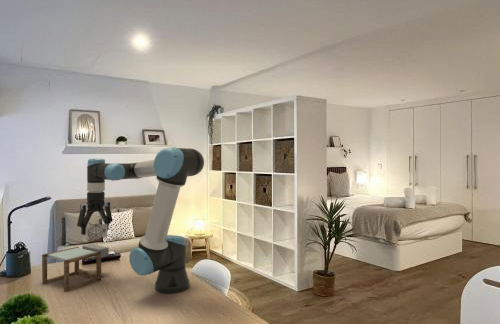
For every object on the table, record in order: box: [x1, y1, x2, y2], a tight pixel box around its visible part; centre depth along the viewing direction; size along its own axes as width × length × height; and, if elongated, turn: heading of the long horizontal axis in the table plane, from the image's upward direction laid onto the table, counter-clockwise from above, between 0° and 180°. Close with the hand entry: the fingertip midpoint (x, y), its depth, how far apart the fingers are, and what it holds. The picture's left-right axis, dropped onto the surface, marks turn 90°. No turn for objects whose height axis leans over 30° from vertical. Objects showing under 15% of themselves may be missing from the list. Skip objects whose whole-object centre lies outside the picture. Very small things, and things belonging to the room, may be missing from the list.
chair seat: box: [47, 243, 110, 262], centre depth 161 cm, size 16×22×4 cm
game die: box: [87, 221, 105, 242], centre depth 156 cm, size 9×8×10 cm
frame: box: [41, 246, 102, 293], centre depth 157 cm, size 20×17×14 cm
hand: (95, 239), depth 157 cm, fingers closed on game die, 9 cm apart
